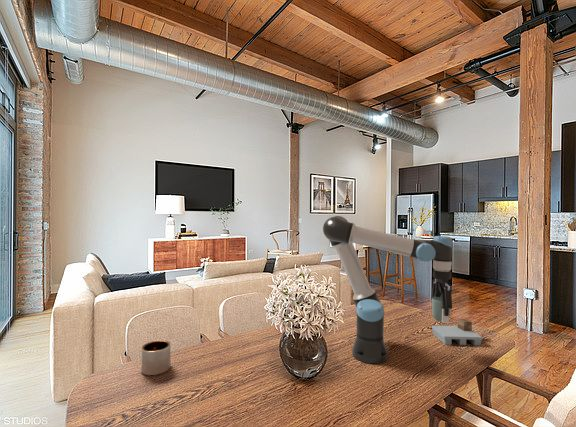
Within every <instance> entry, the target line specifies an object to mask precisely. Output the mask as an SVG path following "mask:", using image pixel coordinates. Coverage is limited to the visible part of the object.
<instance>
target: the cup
mask: <svg viewBox="0 0 576 427" xmlns="http://www.w3.org/2000/svg"><path fill="white" fill-rule="evenodd" d="M442 307H443V302H442V296H440V297H433V298H431V314H432V318H433V319H434V320H435V321H436V322H440V323H442ZM451 312H452V309H449V319H450V317H451Z"/></svg>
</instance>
